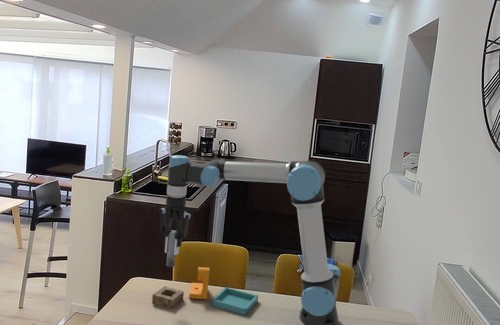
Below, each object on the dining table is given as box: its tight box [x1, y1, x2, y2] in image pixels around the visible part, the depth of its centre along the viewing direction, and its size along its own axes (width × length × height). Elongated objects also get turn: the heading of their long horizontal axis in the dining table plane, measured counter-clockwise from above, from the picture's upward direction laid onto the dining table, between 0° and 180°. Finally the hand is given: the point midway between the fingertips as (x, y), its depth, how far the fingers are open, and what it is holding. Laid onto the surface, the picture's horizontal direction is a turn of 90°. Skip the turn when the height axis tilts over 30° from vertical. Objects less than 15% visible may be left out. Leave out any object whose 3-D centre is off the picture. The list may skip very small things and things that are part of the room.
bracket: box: [188, 266, 211, 300], centre depth 191 cm, size 11×7×12 cm, turn 4°
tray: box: [210, 286, 259, 316], centre depth 187 cm, size 15×14×2 cm
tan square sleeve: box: [151, 285, 185, 309], centre depth 183 cm, size 9×9×4 cm
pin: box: [166, 229, 177, 268], centre depth 180 cm, size 3×3×14 cm
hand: (171, 252), depth 180 cm, fingers closed on pin, 3 cm apart
